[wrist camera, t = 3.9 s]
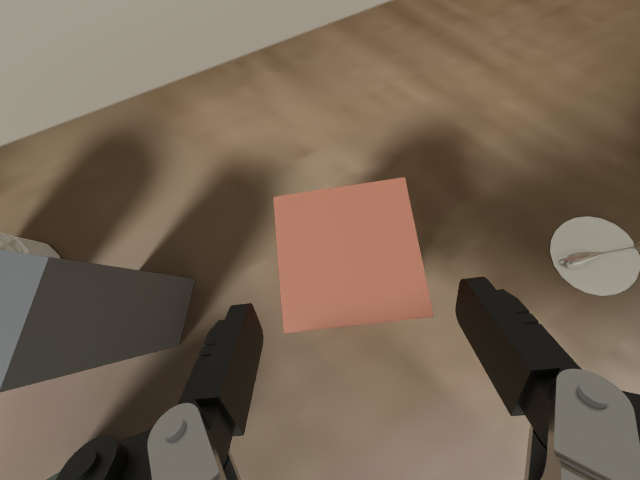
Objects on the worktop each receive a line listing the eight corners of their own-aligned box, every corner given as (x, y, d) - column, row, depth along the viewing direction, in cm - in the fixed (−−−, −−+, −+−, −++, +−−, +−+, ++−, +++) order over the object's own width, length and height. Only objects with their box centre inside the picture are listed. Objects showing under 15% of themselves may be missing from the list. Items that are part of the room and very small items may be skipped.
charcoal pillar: (120, 334, 18) (-108, 367, 9) (138, 270, 19) (-51, 242, 10) (179, 345, 18) (-2, 392, 9) (195, 278, 19) (48, 257, 10)
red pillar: (318, 316, 17) (284, 333, 8) (311, 249, 18) (273, 196, 9) (387, 308, 17) (433, 316, 8) (376, 240, 18) (404, 176, 9)
